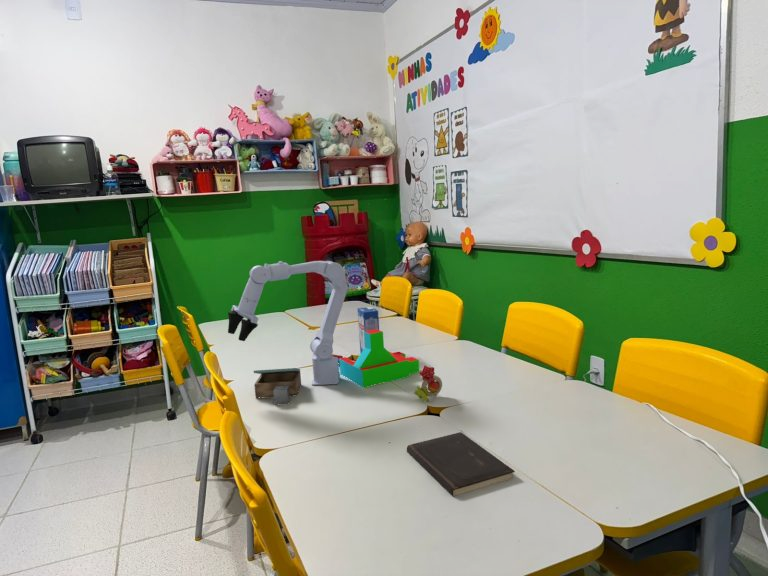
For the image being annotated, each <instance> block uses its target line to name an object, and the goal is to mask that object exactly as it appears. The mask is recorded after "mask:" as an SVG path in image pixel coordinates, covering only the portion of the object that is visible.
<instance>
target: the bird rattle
mask: <svg viewBox="0 0 768 576" xmlns="http://www.w3.org/2000/svg"><path fill="white" fill-rule="evenodd" d="M435 374H436V372H435V367H433V366H431V367H429V366H427V365H424V366H423V367H422V370H421V371H419V376H420V377H421V379H422V383H421V387H420V385H417V387H416V389H415V391H414V392H413V393H414V395H415V396H416V397H418V399H419V400H422V401H423V402H427V401H428V402H430V399H429V397H434V398H437V397H438V394H439V393H440V392H441V390H442V387H443V382H442V379H441V378H440V377H439V376H437V375H435Z"/></svg>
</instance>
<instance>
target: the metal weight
mask: <svg viewBox="0 0 768 576" xmlns="http://www.w3.org/2000/svg"><path fill="white" fill-rule="evenodd" d="M273 394H274V397H273V403H274V406H279V405H278V404H286V405H289V404H290V402H291V396H290V387H289V385H283V386H276V387H275V388H274V390H273ZM289 401H290V402H289ZM288 403H289V404H288Z"/></svg>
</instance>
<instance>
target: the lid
mask: <svg viewBox="0 0 768 576" xmlns="http://www.w3.org/2000/svg"><path fill="white" fill-rule="evenodd" d="M299 371H300V372H301V369H300V368H296V367H293V368H292V367H291V368H275V369H274V368H273V369H260V370H259V369H258V370H253V373H254V374H259V375H261V374H268V373H284V372H299Z"/></svg>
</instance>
